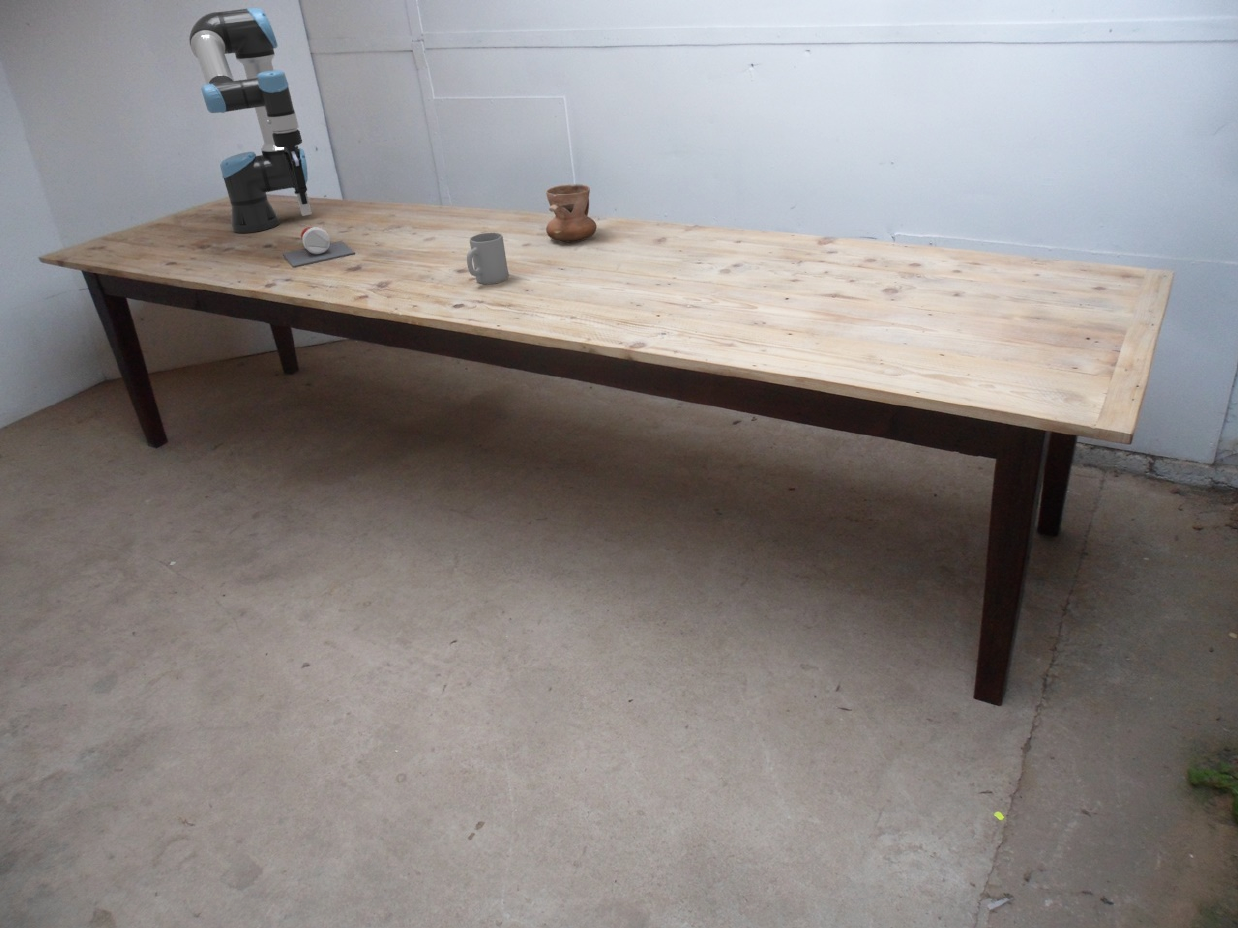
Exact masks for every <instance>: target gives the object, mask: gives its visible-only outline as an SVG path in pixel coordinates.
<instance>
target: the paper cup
mask: <svg viewBox="0 0 1238 928" xmlns="http://www.w3.org/2000/svg"><path fill="white" fill-rule="evenodd" d="M300 239H301V241H302V244H303V247H304V249H307V250H308V251H309V252H311V253H313V254H321V253H324V252H325V251H326V250H327V249H328V248H329V245H330V243H331V237H330V236H329V234H328V232H327V231H326V230H325V229H324V228H321V227H317V226H316V227H314V226H313V227H312V226H308V227H305V228H303V229H302V231H301V233H300Z"/></svg>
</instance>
